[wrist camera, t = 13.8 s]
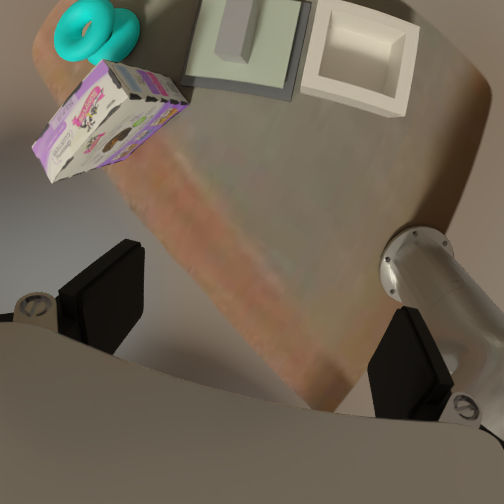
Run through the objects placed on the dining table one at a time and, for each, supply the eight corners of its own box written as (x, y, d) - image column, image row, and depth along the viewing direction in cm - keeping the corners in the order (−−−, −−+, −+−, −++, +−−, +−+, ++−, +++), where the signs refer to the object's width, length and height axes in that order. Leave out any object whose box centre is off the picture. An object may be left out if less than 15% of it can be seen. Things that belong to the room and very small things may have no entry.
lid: (301, 7, 30) (301, -14, 24) (283, 90, 35) (280, 82, 29) (209, -2, 31) (193, -22, 24) (190, 77, 36) (170, 68, 29)
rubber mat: (310, 4, 30) (311, 3, 30) (290, 101, 36) (290, 101, 36) (203, -7, 31) (202, -8, 30) (181, 85, 37) (180, 85, 37)
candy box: (169, 74, 37) (102, 55, 22) (191, 105, 38) (131, 96, 23) (104, 134, 41) (28, 146, 26) (122, 162, 43) (50, 186, 28)
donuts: (43, 63, 28) (60, 0, 24) (85, 68, 37) (98, 14, 33) (96, 57, 27) (116, -13, 23) (135, 67, 37) (150, 8, 32)
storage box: (402, 40, 30) (419, 26, 24) (387, 117, 35) (404, 116, 29) (316, 14, 31) (319, -5, 24) (300, 92, 36) (300, 85, 29)
